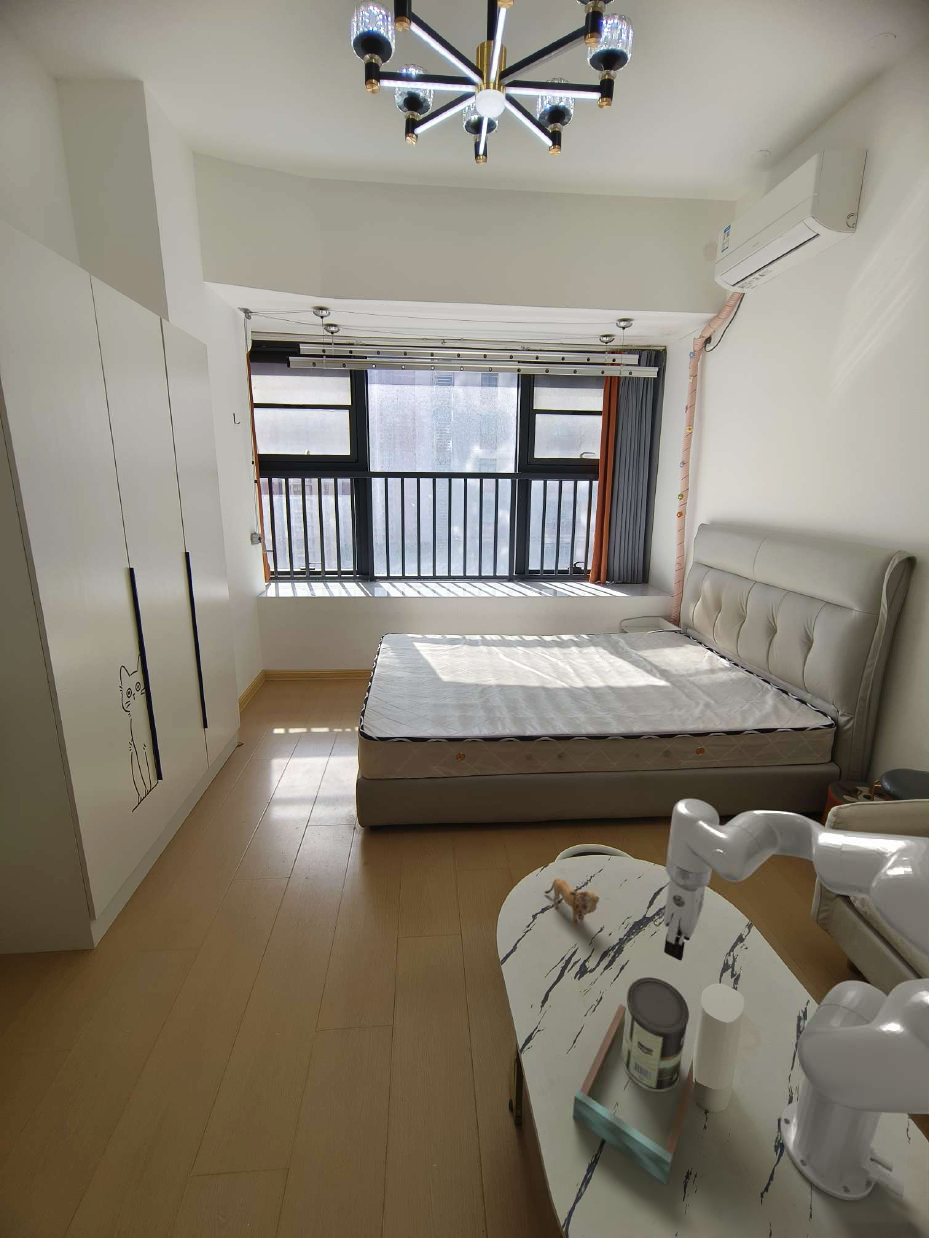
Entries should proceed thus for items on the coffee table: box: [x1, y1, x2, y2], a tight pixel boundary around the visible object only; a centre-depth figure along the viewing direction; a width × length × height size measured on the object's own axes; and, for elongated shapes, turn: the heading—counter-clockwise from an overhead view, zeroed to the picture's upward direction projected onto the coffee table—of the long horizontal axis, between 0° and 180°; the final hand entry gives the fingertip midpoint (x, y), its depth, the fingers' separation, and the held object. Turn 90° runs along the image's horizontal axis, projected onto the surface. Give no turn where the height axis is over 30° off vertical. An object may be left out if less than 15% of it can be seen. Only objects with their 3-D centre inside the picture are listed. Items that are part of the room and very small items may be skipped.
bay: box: [572, 1003, 694, 1185], centre depth 95 cm, size 15×21×5 cm
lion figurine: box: [544, 877, 600, 926], centre depth 131 cm, size 15×5×9 cm, turn 45°
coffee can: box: [620, 976, 690, 1093], centre depth 98 cm, size 10×10×14 cm
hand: (677, 944), depth 103 cm, fingers open, 4 cm apart
